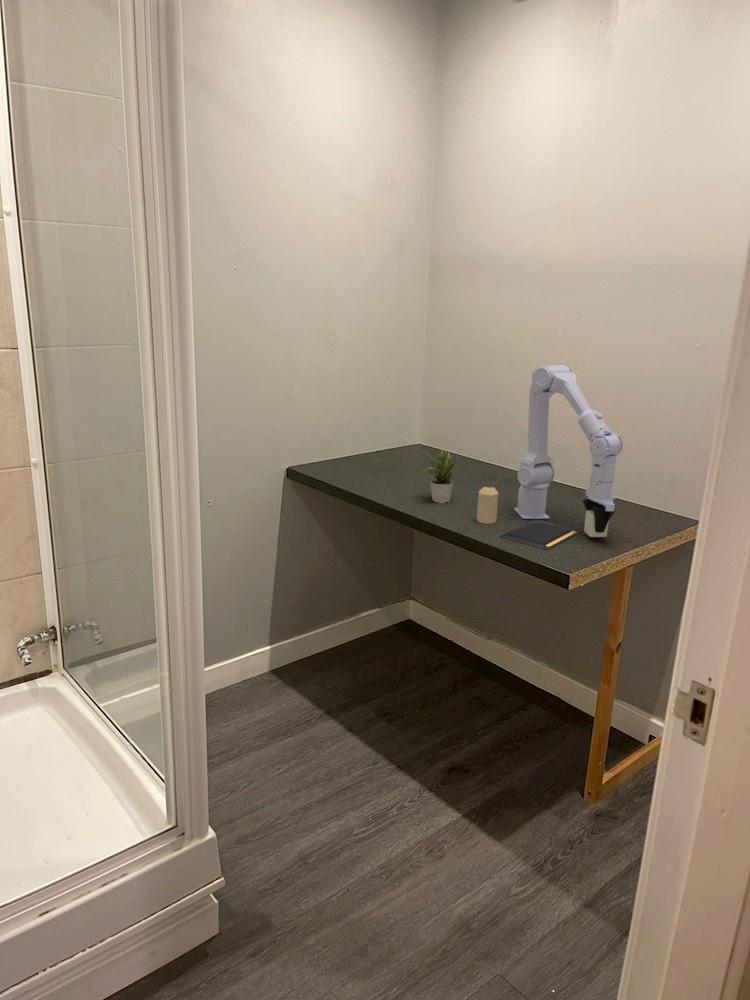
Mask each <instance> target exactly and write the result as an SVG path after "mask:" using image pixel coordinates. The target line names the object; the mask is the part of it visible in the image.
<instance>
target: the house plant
mask: <svg viewBox="0 0 750 1000" xmlns="http://www.w3.org/2000/svg"><path fill="white" fill-rule="evenodd" d="M423 453H425V454H427V455H426V456H427V457H429V458H426V457H424V459H425V461H427V462H429V463H430V464H431V466H432V467H428V466H426V465H424V467H425V469H423V470H422V472H426V471H427V472H429V473H427V475H426V477H428V476H431V477H430V479H431V480H430V481H429V482H430V490H431V492H430V493H431V498H432V500H433V501H435V502H439V503H438V504H446V503H445V502H448V503H449V502H450V499H451V494H452V491H453V485H454V481H453V480H451V479H452V478H455V477H456V478H458V476H457V475H453V472H455V471H456V470H457V468H455V469H453V468H454V466H455V464H456V463H458V462H459V459H457V460H456V461H453V463H451V462H452V454H450V452H448V450H445V451H444V450H443V449H441V450H440V453H438V454H437V461H435V460H434V459H433V457H432V456H431V454H429V453H428V452H424V451H423ZM430 458H431V459H430ZM433 477H434V479H432V478H433ZM432 500H431V501H432ZM433 501H432V502H433ZM435 502H434V503H435Z"/></svg>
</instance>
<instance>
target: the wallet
mask: <svg viewBox="0 0 750 1000" xmlns="http://www.w3.org/2000/svg"><path fill="white" fill-rule="evenodd" d="M579 534H582V532H581V531H579V530H575V529H573V528H570V527H567V526H563V525H560V524H559V525H558V524H555V523H551V522H548V521H543V520H541V519H532V520H531V521H528V522H526V523H525V524H522V525H520V526H518V527H515V528H514V529H512V530H509V531H507V532H505V533H502V534H501V535H499V538H500V539H503V540H506V539H507V540H506V541H511V542H514V543H518V544H522V545H525V546H528V547H533V548H536V549H539V550H544V551H548V552H549V551H551V550H552V549H555V548H556V547H558V546H559V545H561V544H562V543H565V542H566V541H568V540H571V539H573V538H574V537H576V536H578V535H579Z"/></svg>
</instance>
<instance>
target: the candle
mask: <svg viewBox="0 0 750 1000" xmlns="http://www.w3.org/2000/svg"><path fill="white" fill-rule="evenodd" d="M498 501H499V492H498V490H497V489H496V487H493V486H490V487H488V486H483V487H482V488H481V489H479V490H478V497H477V512H476V521H477V522H478V523H480V524H483V525H484V524H485V525H486V524H487V525H492V524H493V525H494V524H495V523H496V522H497V517H498V516H497V514H498V503H499V502H498Z"/></svg>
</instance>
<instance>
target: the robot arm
mask: <svg viewBox="0 0 750 1000" xmlns="http://www.w3.org/2000/svg"><path fill="white" fill-rule="evenodd" d="M531 374H532V375H531V385H530V388H529V391H528V392H529V394H528V397H529V398H528V427H527V452H526V454H525V455H524V456H523V457H522V458H521V459H520V460H519V461H520V462H519V466H518V467H519V468H518V470H517V476H516V477H517V480H518V482H519V484H520V487H519V488H518V494H517V495H518V497H517V505H516V506H517V507H514V508H513V510H514V511H515V512H516V513H517V514H518V515H519V516H520V518H521V519H523V520H549V519H550V518H551V517H550V516H549V515H548V514H547V513H546V507H547V497H548V495H547V494H548V487H550V483H551V482H553V480H554V478H555V475H556V474H555V473H556V472H555V469H554V468H555V467H554V464H553V463H554V460H553V457H552V456H550V455H549V454H548V440H549V438H548V437H549V436H548V435H549V413H550V412H549V411H550V409H549V408H550V398H551V397H552V396H554V395H555V394H556V393H557V394H561V395H563V396H564V398H565V399H566V400H567V401H568V404H569V405H570V406H571V407H572V409H573V410H574V411H575V412H576V414H577V415H578V422H577V424H578V425H579V427H580V429H581V430H582V432H583V433H584V435H585V436H586V438H587V439H588V442H589V443H590V444H589V448H588V449H589V452H590V454H591V461H592V463H591V466H592V467H591V473H590V480H589V481H590V482H589V488H585V497H587V498H585V499H582V503H583V505H584V506H583V507H584V508H585V511H586V510H593V511H594V516H595V532H596V533H603V532H604V531H605V528H606V526H607V523H608V524H609V522H608V521H610V520H611V517H612V516H613V515H614V514H615V512H616V508H615V505H616V504H615V503H614V501H613V500H616V496H615V495H614V494H613V486H614V479H615V471H616V465H617V464H616V463H617V456H618V455H619V454H620V453H621V452H622V450H623V446H624V445H623V441H622V438H621V436H620V435H619V434H617V433H615V432H613V431H612V430H611V429H610V428H609V427H608V425H607V424H606V422H605V421H604V419H603V415H602V413H601V412H599V411H598V410H595V409H591V407H590V404H589V402H588V401H587V400H586V398H585V395H584V394H583V392H582V390H581V388H580V387H579V385H578V382H577V374H576V373H575V372H574V370H573V368H572V366H570V365H568V364H567V363H565V364H557V365H556V364H553V365H540V366H538V367H537V368H535V370H534V371H533V372H532V373H531Z"/></svg>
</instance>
